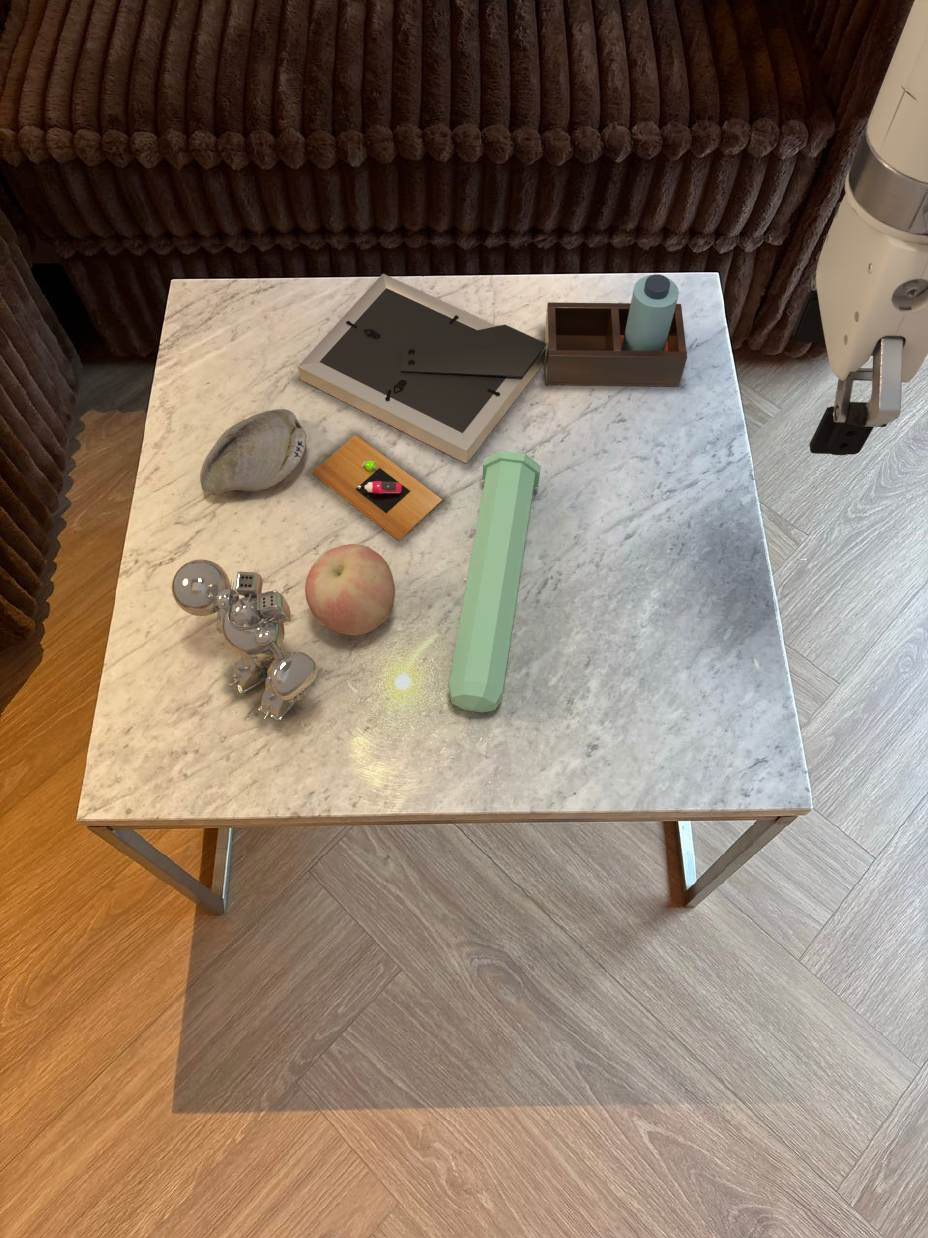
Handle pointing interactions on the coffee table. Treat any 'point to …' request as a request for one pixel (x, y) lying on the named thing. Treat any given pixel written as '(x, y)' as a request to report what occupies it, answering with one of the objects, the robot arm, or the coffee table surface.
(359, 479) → the board
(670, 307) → the bottle
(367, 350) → the picture frame
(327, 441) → the coffee table surface
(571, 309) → the holder
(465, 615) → the container
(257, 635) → the robot toy
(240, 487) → the seashell
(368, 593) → the apple
